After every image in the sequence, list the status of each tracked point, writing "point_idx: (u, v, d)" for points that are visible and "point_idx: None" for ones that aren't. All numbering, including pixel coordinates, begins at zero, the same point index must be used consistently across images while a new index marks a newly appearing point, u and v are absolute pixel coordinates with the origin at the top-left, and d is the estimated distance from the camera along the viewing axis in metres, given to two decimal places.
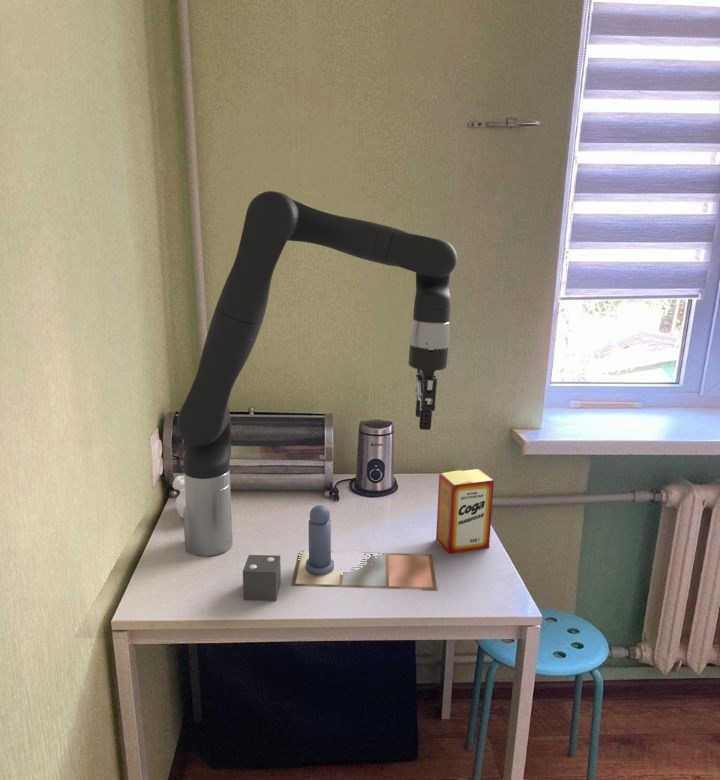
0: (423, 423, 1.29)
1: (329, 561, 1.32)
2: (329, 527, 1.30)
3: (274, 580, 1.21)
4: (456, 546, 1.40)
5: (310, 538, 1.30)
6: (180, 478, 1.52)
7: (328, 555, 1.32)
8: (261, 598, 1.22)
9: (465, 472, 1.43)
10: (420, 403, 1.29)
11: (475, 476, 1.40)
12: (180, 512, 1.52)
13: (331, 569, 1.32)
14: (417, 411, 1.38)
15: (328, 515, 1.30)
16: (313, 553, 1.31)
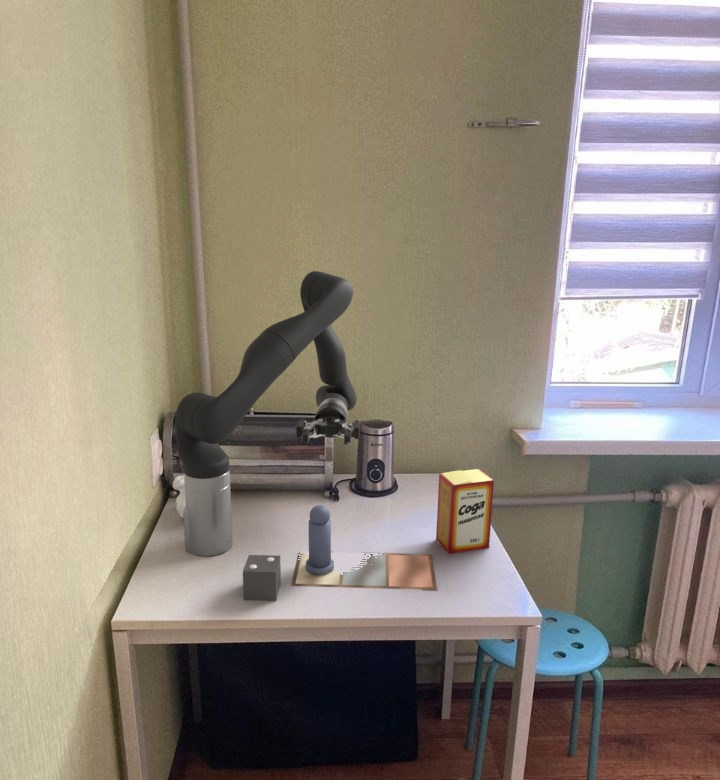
0: (350, 436, 1.44)
1: (329, 561, 1.32)
2: (329, 527, 1.30)
3: (274, 580, 1.21)
4: (456, 546, 1.40)
5: (310, 538, 1.30)
6: (180, 478, 1.52)
7: (328, 555, 1.32)
8: (261, 598, 1.22)
9: (465, 472, 1.43)
10: (345, 427, 1.48)
11: (475, 476, 1.40)
12: (180, 512, 1.52)
13: (331, 569, 1.32)
14: (308, 434, 1.44)
15: (328, 515, 1.30)
16: (313, 553, 1.31)
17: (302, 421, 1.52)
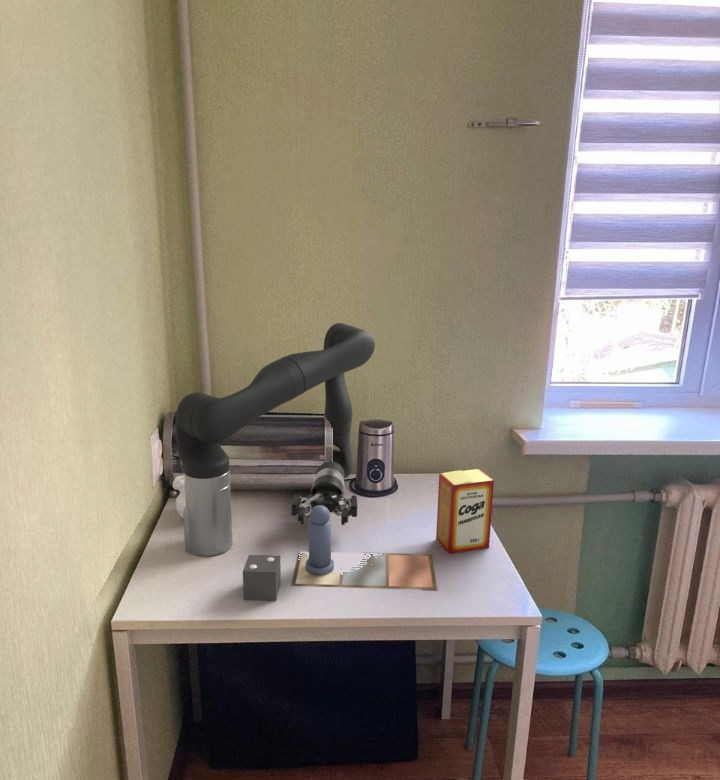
0: (348, 516, 1.40)
1: (329, 561, 1.32)
2: (329, 527, 1.30)
3: (274, 580, 1.21)
4: (456, 546, 1.40)
5: (310, 538, 1.30)
6: (180, 478, 1.52)
7: (328, 555, 1.31)
8: (261, 598, 1.22)
9: (465, 472, 1.43)
10: (342, 505, 1.43)
11: (475, 476, 1.40)
12: (180, 512, 1.52)
13: (331, 569, 1.32)
14: (304, 514, 1.40)
15: (328, 515, 1.30)
16: (313, 553, 1.31)
17: (298, 497, 1.47)
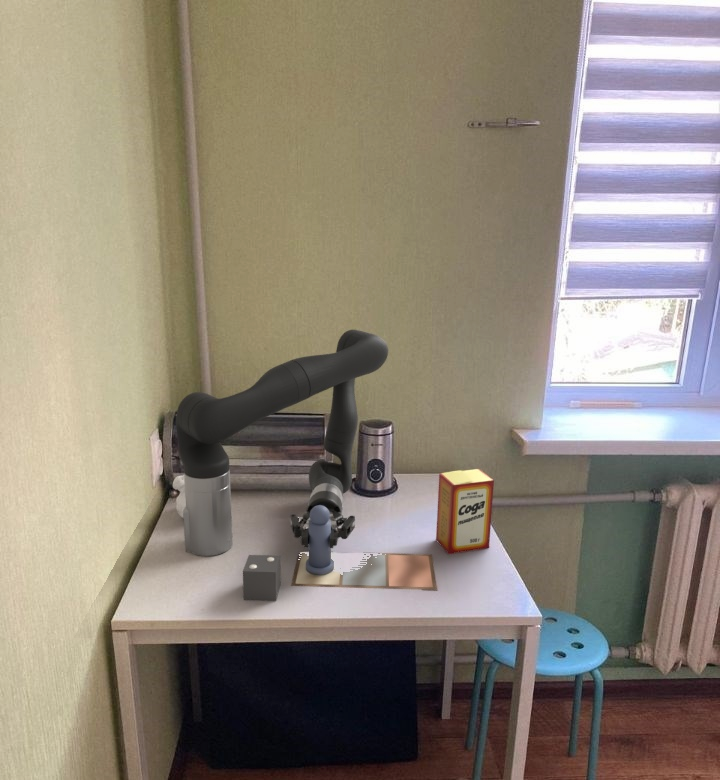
0: (336, 538, 1.30)
1: (329, 561, 1.32)
2: (329, 527, 1.30)
3: (274, 580, 1.21)
4: (456, 546, 1.40)
5: (310, 538, 1.30)
6: (180, 478, 1.52)
7: (328, 555, 1.31)
8: (261, 598, 1.22)
9: (465, 472, 1.43)
10: (332, 525, 1.34)
11: (475, 476, 1.40)
12: (180, 512, 1.52)
13: (331, 569, 1.32)
14: (308, 536, 1.30)
15: (328, 515, 1.30)
16: (313, 553, 1.31)
17: (295, 517, 1.37)
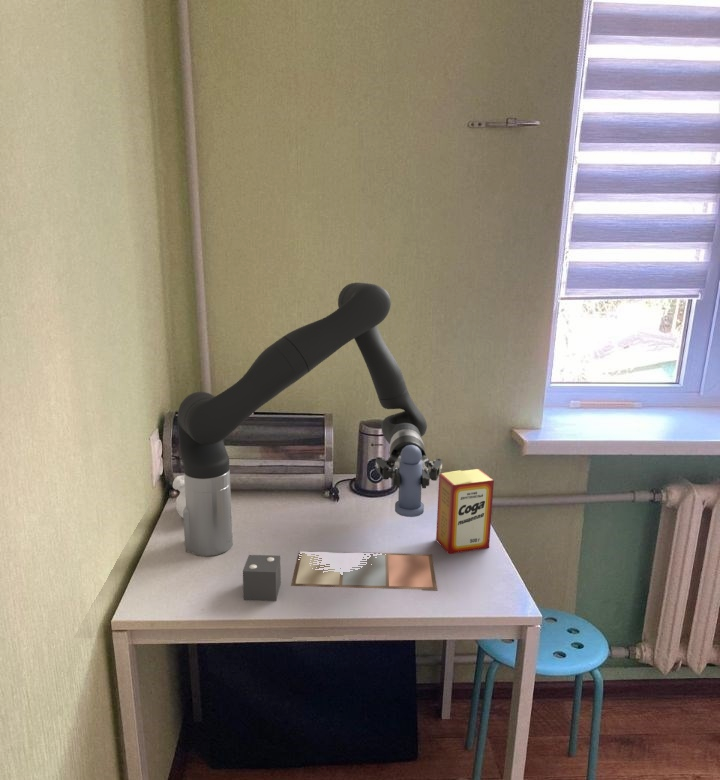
0: None
1: (420, 503, 1.29)
2: (421, 467, 1.27)
3: (274, 580, 1.21)
4: (456, 546, 1.40)
5: (401, 478, 1.27)
6: (180, 478, 1.52)
7: (419, 497, 1.28)
8: (261, 598, 1.22)
9: (465, 472, 1.43)
10: (422, 467, 1.30)
11: (475, 476, 1.40)
12: (180, 512, 1.52)
13: (422, 511, 1.29)
14: (399, 476, 1.27)
15: (420, 454, 1.26)
16: (404, 494, 1.27)
17: (381, 460, 1.34)
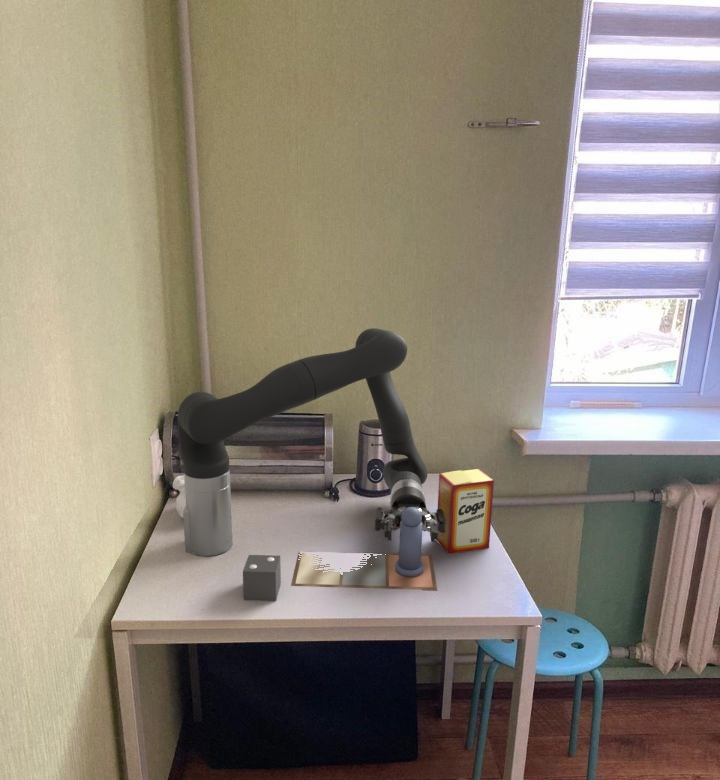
0: (437, 532, 1.30)
1: (419, 563, 1.32)
2: (421, 529, 1.30)
3: (274, 580, 1.21)
4: (456, 546, 1.40)
5: (402, 540, 1.30)
6: (180, 478, 1.52)
7: (419, 557, 1.31)
8: (261, 598, 1.22)
9: (465, 472, 1.43)
10: (430, 520, 1.34)
11: (475, 476, 1.40)
12: (180, 512, 1.52)
13: (422, 571, 1.32)
14: (391, 529, 1.30)
15: (420, 517, 1.30)
16: (405, 555, 1.30)
17: (380, 510, 1.37)
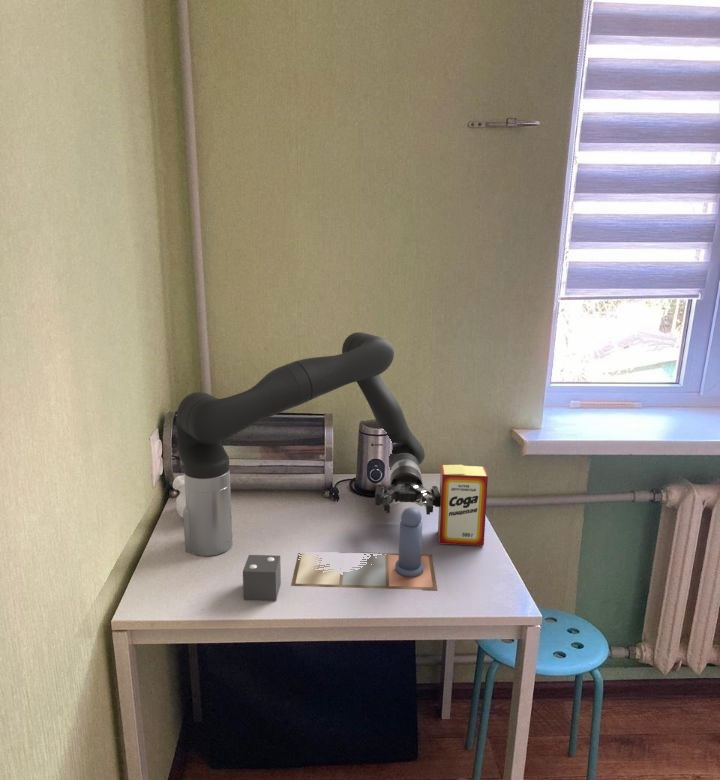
0: (432, 505, 1.42)
1: (419, 563, 1.32)
2: (421, 529, 1.30)
3: (274, 580, 1.21)
4: (447, 537, 1.43)
5: (402, 540, 1.30)
6: (180, 478, 1.52)
7: (419, 558, 1.31)
8: (261, 598, 1.22)
9: (466, 467, 1.45)
10: (425, 495, 1.45)
11: (472, 471, 1.43)
12: (180, 512, 1.52)
13: (422, 571, 1.32)
14: (389, 503, 1.42)
15: (420, 517, 1.29)
16: (405, 555, 1.30)
17: (379, 487, 1.49)
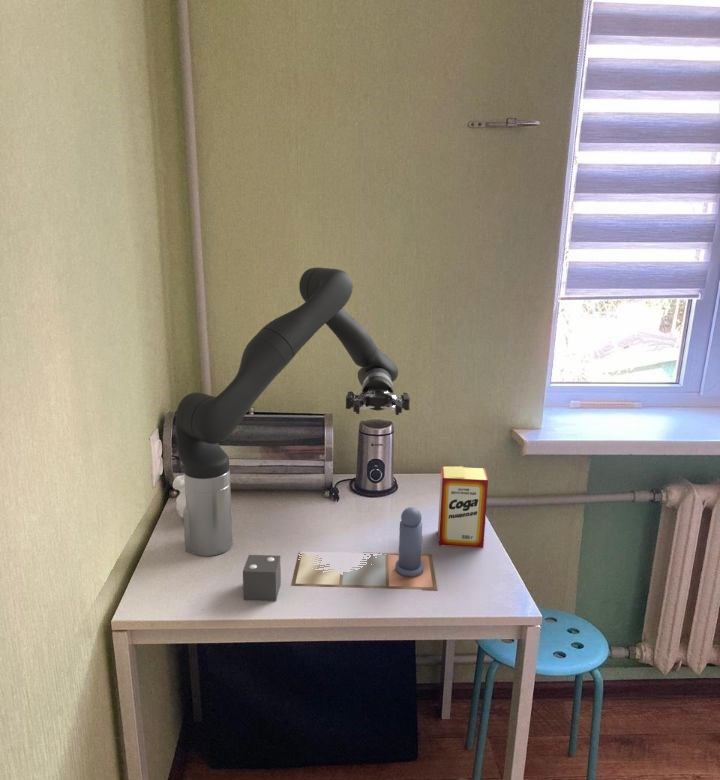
0: (401, 406, 1.45)
1: (419, 563, 1.32)
2: (421, 529, 1.30)
3: (274, 580, 1.21)
4: (447, 539, 1.43)
5: (402, 540, 1.30)
6: (180, 478, 1.52)
7: (419, 558, 1.31)
8: (261, 598, 1.22)
9: (467, 469, 1.44)
10: (395, 398, 1.48)
11: (472, 474, 1.42)
12: (180, 512, 1.52)
13: (422, 571, 1.32)
14: (359, 404, 1.45)
15: (420, 517, 1.29)
16: (405, 555, 1.30)
17: (351, 393, 1.52)
